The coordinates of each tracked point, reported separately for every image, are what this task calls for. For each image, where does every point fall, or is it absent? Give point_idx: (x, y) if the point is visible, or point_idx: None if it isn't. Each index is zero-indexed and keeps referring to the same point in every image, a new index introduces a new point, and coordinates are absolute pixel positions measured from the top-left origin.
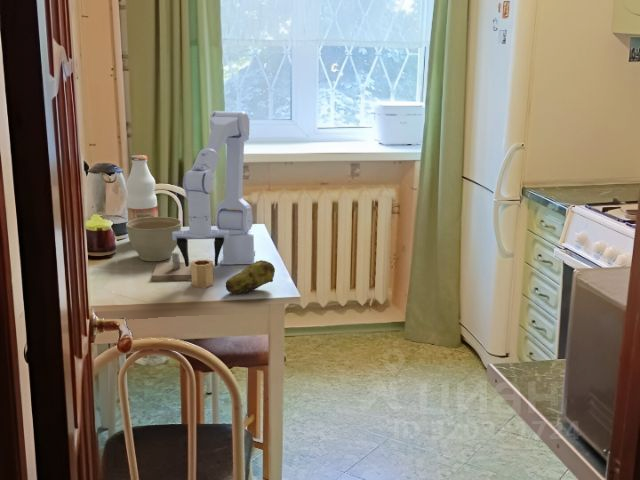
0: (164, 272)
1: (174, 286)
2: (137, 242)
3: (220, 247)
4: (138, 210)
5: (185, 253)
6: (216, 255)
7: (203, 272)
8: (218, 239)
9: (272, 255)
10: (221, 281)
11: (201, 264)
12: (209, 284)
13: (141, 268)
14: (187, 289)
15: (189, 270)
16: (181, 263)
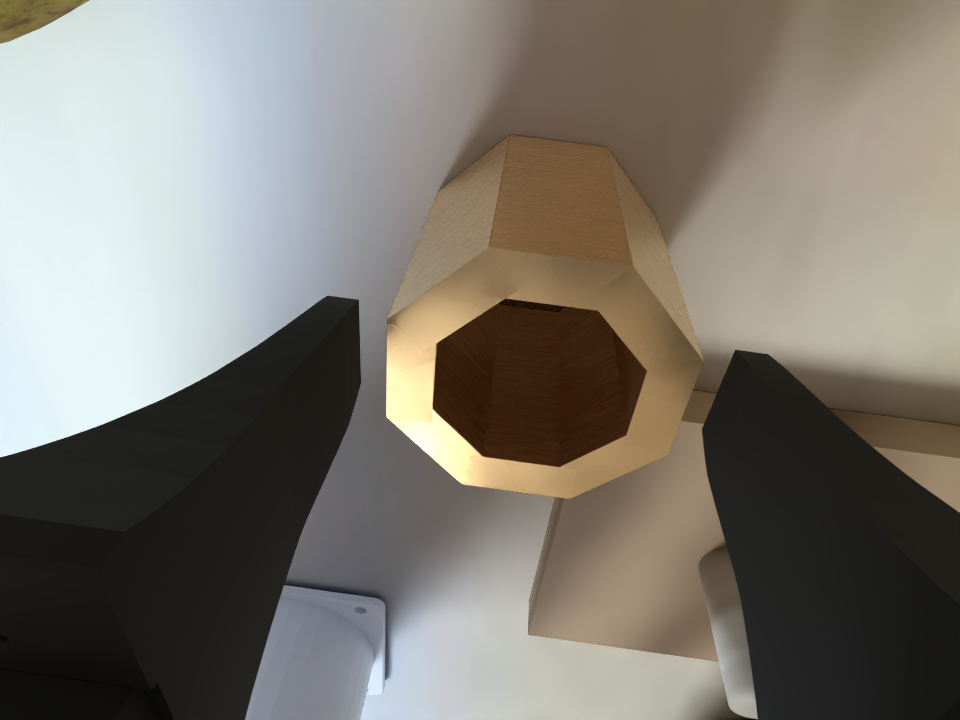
0: None
1: (841, 240)
2: None
3: (61, 446)
4: None
5: (864, 482)
6: (260, 371)
7: (529, 208)
8: (38, 691)
9: None
10: (359, 289)
11: (536, 428)
12: (471, 171)
13: None
14: (731, 105)
15: (632, 510)
16: (663, 638)
